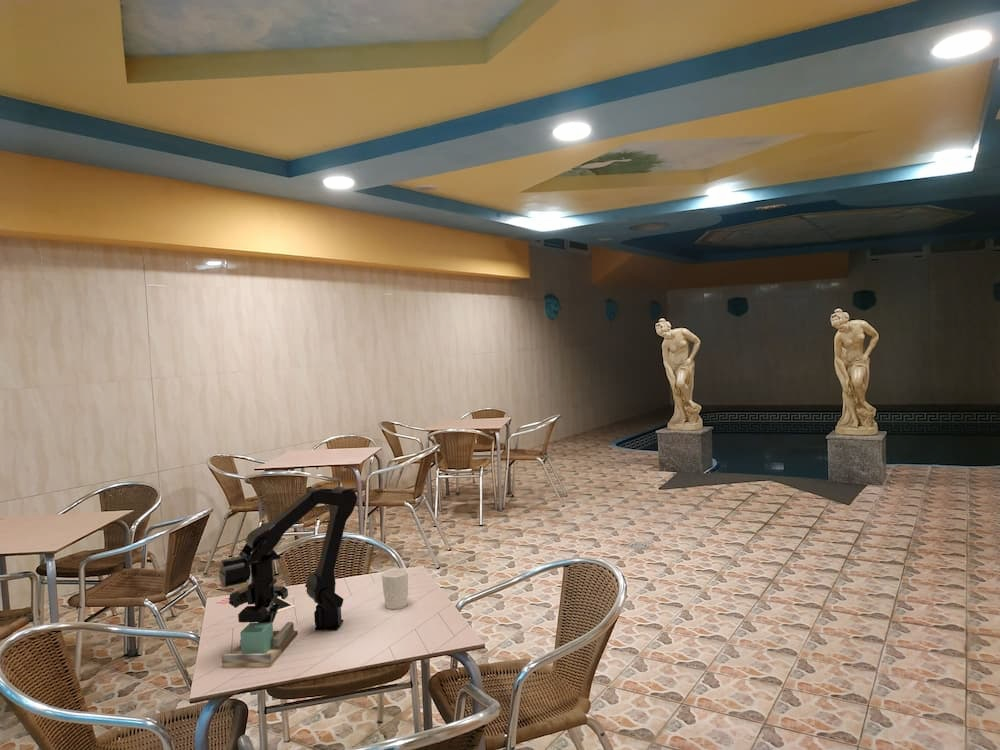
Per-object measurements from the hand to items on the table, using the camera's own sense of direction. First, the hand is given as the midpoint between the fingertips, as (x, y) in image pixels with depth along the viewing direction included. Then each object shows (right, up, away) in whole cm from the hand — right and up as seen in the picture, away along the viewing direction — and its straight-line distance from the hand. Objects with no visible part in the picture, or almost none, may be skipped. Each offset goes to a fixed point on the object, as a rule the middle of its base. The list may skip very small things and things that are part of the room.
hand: (266, 635), depth 186 cm
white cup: (+31, 0, +25) cm, 40 cm away
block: (0, -2, -6) cm, 6 cm away
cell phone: (-8, -2, +30) cm, 31 cm away
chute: (0, -3, -3) cm, 4 cm away
